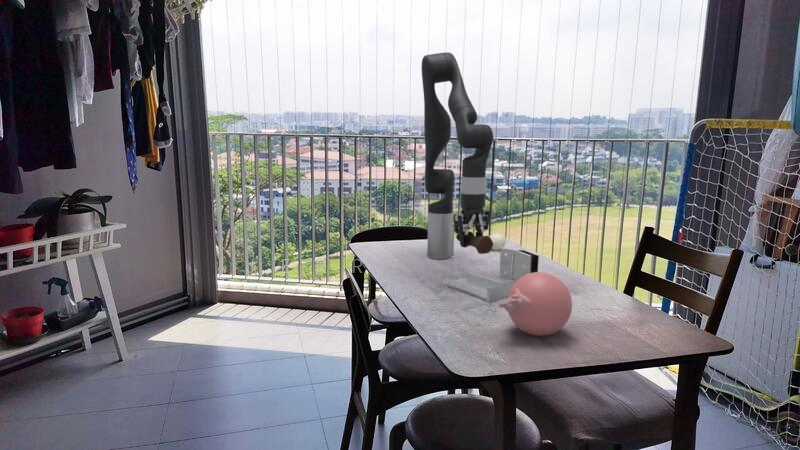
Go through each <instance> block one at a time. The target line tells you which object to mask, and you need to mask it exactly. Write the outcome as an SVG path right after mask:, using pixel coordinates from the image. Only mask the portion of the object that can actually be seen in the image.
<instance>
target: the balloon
mask: <svg viewBox="0 0 800 450" xmlns="http://www.w3.org/2000/svg"><path fill="white" fill-rule="evenodd" d="M514 282H515V283H514V284H513V285H512V287H511V288H510V291H509V293H508V297H506V298H507V299H505V300H503V301H502V302H499V303H498V306H499V307H500V308H504V310H505V311H506V312H508V315H509V317H510V319H511V321H512V322H513V324H514V325H515V326H516V327H517V328H518V329H519V330H521V331H523V332H524V333H526V334H529V335H531V336H535V337H540V336H541V337H542V336H543V337H545V336H549V335H553V334H555V333H558V331H560V330H561V329H563V328H564V326H565V325H566V324H567V323H568V321H569V320H570V317H571V315H572V311H573V301H572V295H571V293H570V291H569V289H568V287H567V286H566V284H565V283H564V282H563V281H562V280H560V279H559V278H558V277H557V276H555V275H552V274H550V273H547V272H541V271H538V272H534V273H529V274H526V275H524V276H522V277H520V278H519V279H518V280H517V281H514Z"/></svg>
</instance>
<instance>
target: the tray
mask: <svg viewBox="0 0 800 450" xmlns="http://www.w3.org/2000/svg"><path fill="white" fill-rule="evenodd" d="M515 282H516V281H515V280H510V281H507V282H503V281H500V280H497V279H494V278H491V277H487V276H485V275H481V274H478V273H475V272H472V271H467V272H466V277H463V278H459V279H455V278H452V277H449V276H445V277H444V282H443V283H444V286H445V287H447V288H450V289H452V290H456V291H458V292H461V293H464V294H466V295H469V296H472V297H475V298H478V299H481V300H483V301H486V302H488V303H491V302H495V301H497V300H502V299H506V298H507V297H508V293H509V291H510V288H511V287H512V285H513V284H514V283H515Z"/></svg>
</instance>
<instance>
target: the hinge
mask: <svg viewBox="0 0 800 450" xmlns="http://www.w3.org/2000/svg"><path fill="white" fill-rule="evenodd" d="M499 252H500V255H499V257H500V258H499V277H498V278H501V279H502V278H503V279H509V280H512V281H514V282H516V281H517V280H518V279H519V278H520V277H522V276H524V275H526V274H529V273H534V272H539V263H540V262H539V259H540V255H539V254H538V253H534V252H533V251H529V250H527V249H522V248H520V247H512V248H508V247H506V248H505V247H503V248H501V250H500V251H499Z"/></svg>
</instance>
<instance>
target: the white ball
mask: <svg viewBox="0 0 800 450" xmlns="http://www.w3.org/2000/svg"><path fill="white" fill-rule="evenodd" d="M489 237H490V238H491V240H492V242H493V247H492V249H491V250H493V251H501V248H505V245H506V238H505V236H504V235H503V234H502V233H496V232H495V233H493V234H491V235H490V236H489Z"/></svg>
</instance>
